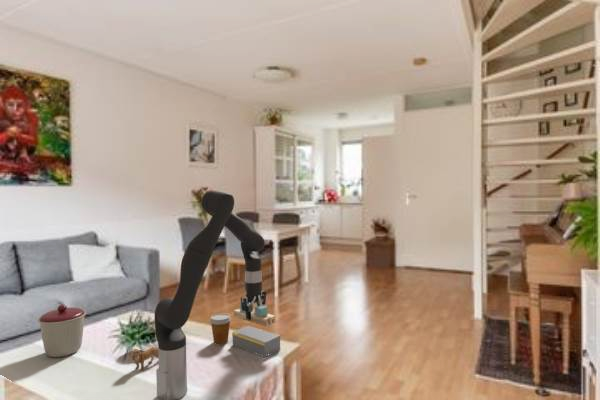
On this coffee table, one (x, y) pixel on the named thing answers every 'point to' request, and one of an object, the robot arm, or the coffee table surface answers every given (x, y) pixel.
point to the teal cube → (261, 311)
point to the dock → (256, 340)
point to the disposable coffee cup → (220, 327)
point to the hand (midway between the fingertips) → (254, 317)
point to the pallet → (255, 317)
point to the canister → (62, 330)
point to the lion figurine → (143, 356)
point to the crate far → (245, 311)
